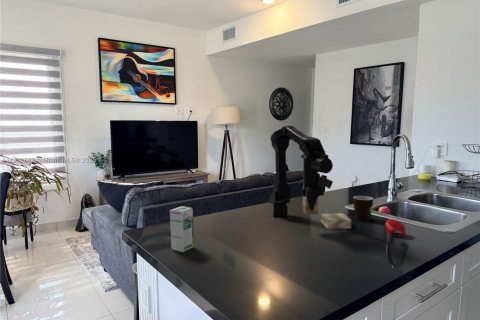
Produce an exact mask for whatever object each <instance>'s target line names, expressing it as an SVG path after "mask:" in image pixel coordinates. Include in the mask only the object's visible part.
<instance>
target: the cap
mask: <svg viewBox="0 0 480 320" xmlns="http://www.w3.org/2000/svg"><path fill="white" fill-rule="evenodd" d="M384 226H385V230H386V232H387V233H388V235H389V237H392V236H393V233H395V232H396V231H399V232H400V233H402V235H403V237H405V238H406V236H407V235H406V227H405V225H403V223H401V222H400V221H398V220H396V219H388V220H387V221H386V222H385V223H384Z"/></svg>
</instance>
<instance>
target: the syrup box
mask: <svg viewBox="0 0 480 320" xmlns="http://www.w3.org/2000/svg"><path fill="white" fill-rule="evenodd" d="M169 220H170V223H169V224H170V243H171V250H174V251H176V252H179V253H181V252H182V253H185V252H186V251H188V250H190V249H192V248H194V247H195V239H194V237H195V235H194V212H193V208H192V207H190V206H184V205H183V206H179V207H175V208H172V209H169Z"/></svg>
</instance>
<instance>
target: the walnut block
mask: <svg viewBox="0 0 480 320" xmlns="http://www.w3.org/2000/svg"><path fill="white" fill-rule="evenodd" d="M302 212H303V213H304V214H305V215H318V214H319V197H318V198H317V200H316V203H315V206H314V209H313V210H310V208H309V205H308V202H307V199H306V196H303V195H302Z"/></svg>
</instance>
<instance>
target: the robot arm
mask: <svg viewBox="0 0 480 320" xmlns="http://www.w3.org/2000/svg"><path fill="white" fill-rule="evenodd" d="M291 140H292V141H293V142H295V143H296V144H297V145H298V148H299V150H300V151H301V153H303V154H302V155H301V156H300V158H301V159H303V161H302V163H303V167H302V168H303V170H302V172H301V174H302V177H303V179H301V180H299V181H298V188H299V190H300V192H301V195H302V197H303V196H306V199H307V202H308V205H309V208H310V210H313V209H314V206H315V203H316V200H317V198H318V199H319V198H320V197H322V196H325V190H324V188H327V189H331V188H332V185H333V182H334V181H333V180H331V179H330V178H329V179H328V176H327V175H324V174H330V173H331V171H332V170H333V167H334V164H333V161H332V160H331V159H330V158H329V155H328V154H326V151H325V149H324V146H323V145H322V142H321V139H319V138H317V137H314V136H308V135H306V134H304V133H303V132H302V131H300V130H299V129H297V128H296V127H295V126H293V125H284V126H282V127H281V128H279V129H277V130H275V131H274V132H273V133H272V134H271V135H270V142H271V147H272V149H273V150H274V152H275V154H274V155H275V158H274V159H275V183H274V185H273V187H272V193H271V194H270V196H269V197H268V200H269V204H272V212H271V214H272V217H273V218H286V217H287V218H288V214H289V212H288V211H289V210H288V204H290V203H291V198H292V186H291V185H289V184H288V181H287V150H288V148H289V146H290V141H291ZM320 173H322V175H321V174H320ZM321 186H322V187H324V188H322V187H321Z"/></svg>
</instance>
